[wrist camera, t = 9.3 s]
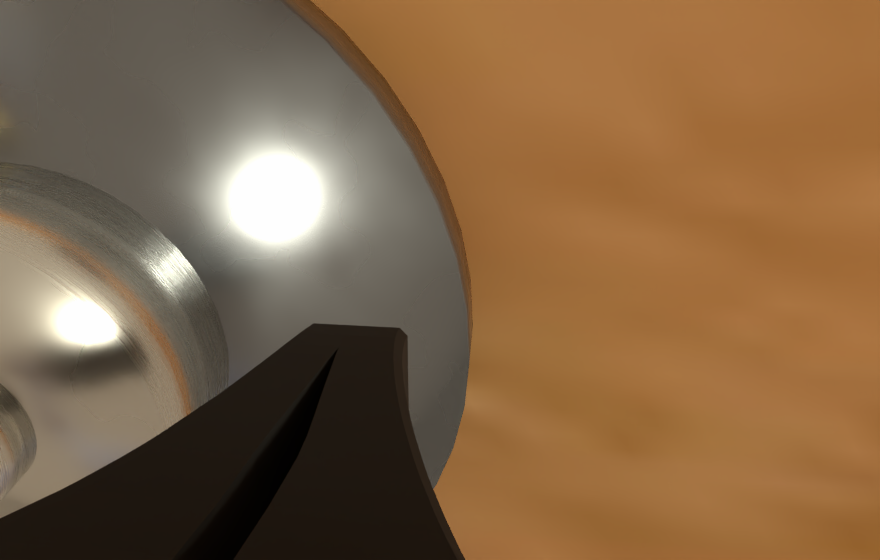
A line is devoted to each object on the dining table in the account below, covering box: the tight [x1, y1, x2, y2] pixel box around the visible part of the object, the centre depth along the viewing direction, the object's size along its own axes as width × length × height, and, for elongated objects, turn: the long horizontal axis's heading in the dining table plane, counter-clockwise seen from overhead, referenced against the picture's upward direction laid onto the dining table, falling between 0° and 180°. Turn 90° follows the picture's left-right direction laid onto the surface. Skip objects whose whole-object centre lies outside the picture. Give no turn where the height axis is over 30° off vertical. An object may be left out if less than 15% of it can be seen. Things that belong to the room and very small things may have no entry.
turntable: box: [0, 0, 473, 489], centre depth 15 cm, size 18×18×4 cm
